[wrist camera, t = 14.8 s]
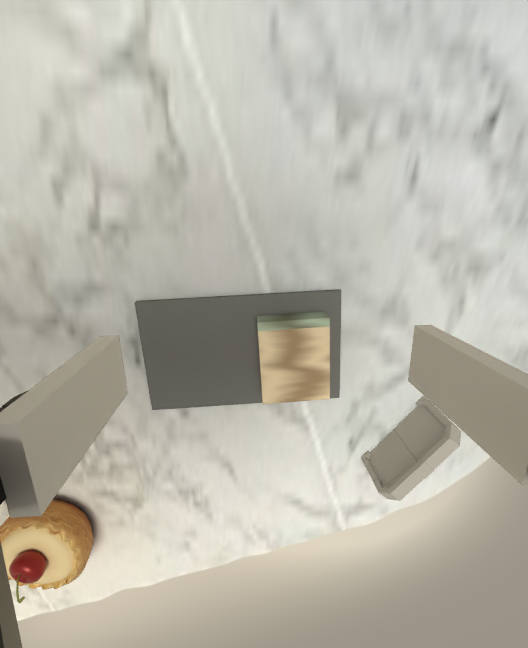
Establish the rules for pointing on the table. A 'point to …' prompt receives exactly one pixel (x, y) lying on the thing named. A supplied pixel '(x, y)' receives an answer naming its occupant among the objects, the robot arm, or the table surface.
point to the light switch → (411, 451)
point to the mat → (220, 345)
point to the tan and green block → (294, 356)
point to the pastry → (47, 546)
